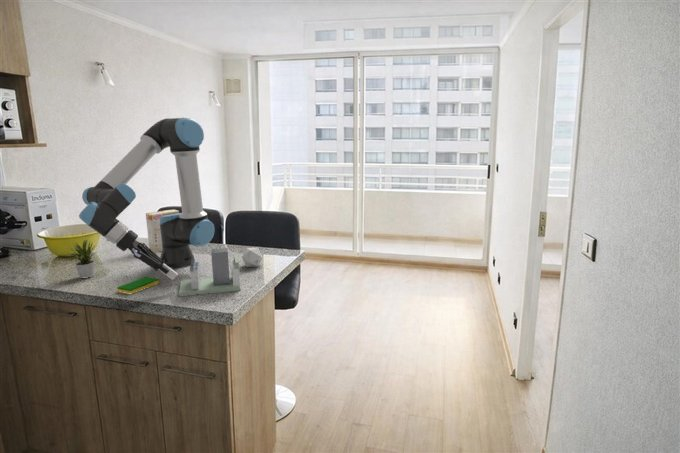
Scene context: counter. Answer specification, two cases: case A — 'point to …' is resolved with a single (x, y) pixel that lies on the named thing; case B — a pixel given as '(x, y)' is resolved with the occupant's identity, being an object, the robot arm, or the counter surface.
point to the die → (252, 257)
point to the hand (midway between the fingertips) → (175, 276)
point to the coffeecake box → (156, 228)
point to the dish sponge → (138, 285)
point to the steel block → (220, 266)
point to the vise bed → (208, 285)
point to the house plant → (83, 259)
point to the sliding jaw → (194, 274)
